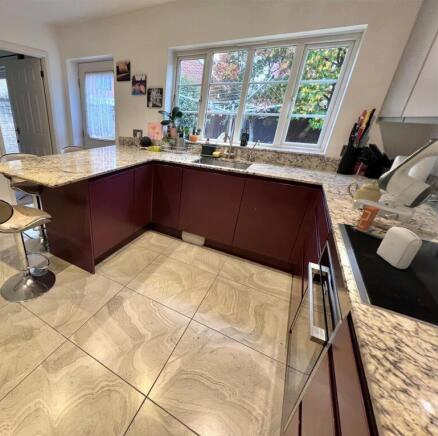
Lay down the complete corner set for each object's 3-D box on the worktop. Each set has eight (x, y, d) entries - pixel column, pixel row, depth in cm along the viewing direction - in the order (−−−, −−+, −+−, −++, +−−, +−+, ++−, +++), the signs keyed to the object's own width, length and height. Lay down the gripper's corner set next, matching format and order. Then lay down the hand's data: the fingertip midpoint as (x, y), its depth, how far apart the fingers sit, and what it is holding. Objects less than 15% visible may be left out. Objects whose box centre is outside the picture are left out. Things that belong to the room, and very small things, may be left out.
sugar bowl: (343, 203, 137) (354, 178, 130) (342, 198, 145) (352, 174, 139) (377, 209, 129) (390, 183, 123) (373, 203, 138) (385, 179, 131)
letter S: (369, 228, 103) (379, 208, 99) (363, 230, 101) (373, 210, 97) (361, 226, 106) (371, 205, 102) (355, 227, 104) (365, 207, 100)
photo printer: (373, 252, 87) (389, 222, 82) (386, 253, 87) (403, 224, 81) (394, 268, 78) (413, 236, 73) (409, 270, 78) (429, 238, 72)
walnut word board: (413, 236, 101) (415, 232, 100) (405, 239, 98) (407, 236, 97) (364, 219, 115) (366, 216, 114) (355, 222, 112) (357, 218, 111)
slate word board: (410, 245, 93) (413, 241, 93) (401, 249, 90) (404, 245, 89) (358, 226, 108) (360, 222, 107) (349, 229, 105) (351, 225, 104)
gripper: (364, 194, 114) (348, 198, 108) (421, 210, 97) (407, 215, 92) (358, 206, 117) (343, 210, 111) (413, 223, 100) (399, 229, 94)
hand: (372, 212), depth 101 cm, fingers open, 8 cm apart
